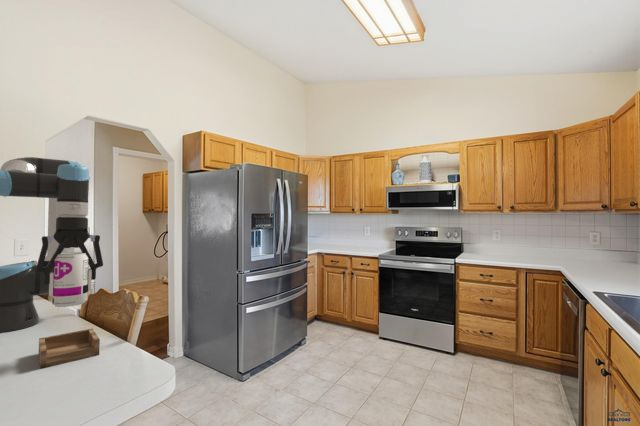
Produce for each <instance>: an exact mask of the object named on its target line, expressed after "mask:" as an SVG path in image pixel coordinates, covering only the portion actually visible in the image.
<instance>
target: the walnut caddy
mask: <svg viewBox="0 0 640 426" xmlns="http://www.w3.org/2000/svg"><path fill="white" fill-rule="evenodd" d="M97 334H98V333H96V331H95V330H94V328H87V329H82V330H75V331H72V332H67V333H66V332H65V333H61V334H56V335H50V336H45V337H40V338H38V359H39V368H40V369H44V368H49V367H53V366H58V365H61V364H66V363H70V362H73V361H78V360H83V359H86V358H91V357H95V356H100V347H101V346H100V345H101V344H100V343H101V341H100V337H99V336H98V335H97Z"/></svg>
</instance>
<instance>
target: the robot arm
mask: <svg viewBox="0 0 640 426" xmlns="http://www.w3.org/2000/svg"><path fill="white" fill-rule="evenodd" d="M90 178H91V177H90V170H89V168H88V167H86V166H85V165H82V164H81V163H79V162H78V161H70V160H66V159H65V160H63V159H53V158H44V157H35V156H34V157H31V156H28V157H27V156H26V157H18V158H13V159H10V160H7V161H6V162H4V163H3V164H2V165H1V167H0V197H4V198H6V197H19V198H21V197H22V198H23V197H24V198H39V199H40V198H42V199H44V198H45V199H48V206H47V207H48V208H47V209H48V212H47V213H48V214H47V215H48V217H47V236H42V237H41V243H42V245H41V249H40V252H39V257H38V261H37V263H36V264H35V262H34V261H25V262H16V263H11V264H5V265H1V266H0V333H7V332H12V331H18V330H22V329H26V328H29V327H33V326H34V325H35V326H36V325H37V324H39V321H40V317H39V313H38V311H37V309H36V307H35V304H34V296H42V295H48V296H49V297H52V296H53V274H54V273H53V266H54V264H55V259H56V257H57V256H58V254H61V253H72V252H75V249H77V248H79V250H80V252H82V253H86V255H87V257H88V267H89V268H88V292H92V281H93V280H96V277H97V269H98V268H101V267H103V266H104V261H103V257H102V252H101V247H100V246H101V245H100V240H101V239H100V238H101V236H100V235H98V234H95V235H94V234H90V233H89V229H88V228H89V218H88V217H87V216H89V189H90V187H89V186H90V185H89V184H90ZM89 239H90V242H92V245H93V250H94V255H95V261H96V263H95V262H94V260H93V258H92V257H91V254H90V253H89V251H88V249H87V247H86V245H85V243H86V242H87V241H88V240H89Z"/></svg>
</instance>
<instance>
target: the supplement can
mask: <svg viewBox="0 0 640 426" xmlns="http://www.w3.org/2000/svg"><path fill="white" fill-rule="evenodd" d="M88 269H89V264H88V257H87V255H86V253H82V251H79V252H76V251H74V252H72V253H61V254H58V256H57V257H56V259H55V264H54V266H53V273H54V274H53V296H51V297H52V299H51V301H52V303H51V304H52V305H53V306H54V307H57V308H68V307H75V306H79V305H80V306H81V305H83V304H85V303H86V302H87V301H88V295H89V293H88Z"/></svg>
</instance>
